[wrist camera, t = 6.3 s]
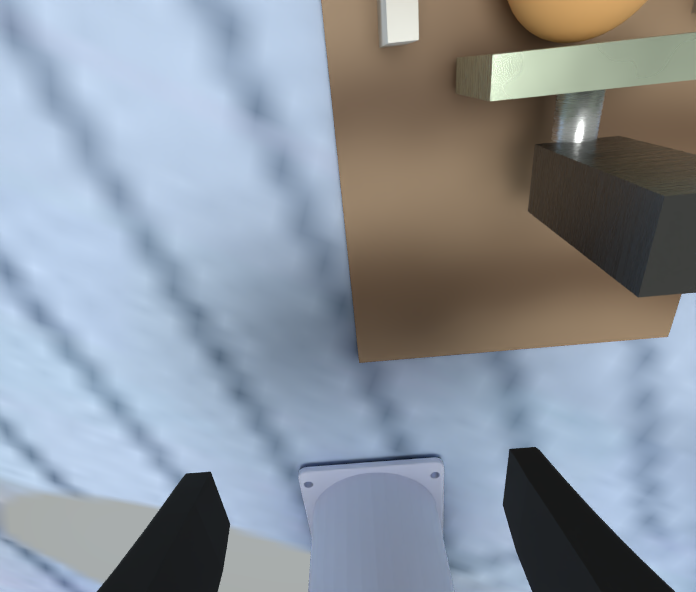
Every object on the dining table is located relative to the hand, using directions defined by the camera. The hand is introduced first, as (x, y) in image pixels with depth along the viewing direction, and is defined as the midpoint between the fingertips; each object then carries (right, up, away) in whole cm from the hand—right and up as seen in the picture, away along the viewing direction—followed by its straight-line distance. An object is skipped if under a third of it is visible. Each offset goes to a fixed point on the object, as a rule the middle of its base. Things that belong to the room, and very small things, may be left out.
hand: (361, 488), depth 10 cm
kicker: (+6, +10, +4) cm, 13 cm away
